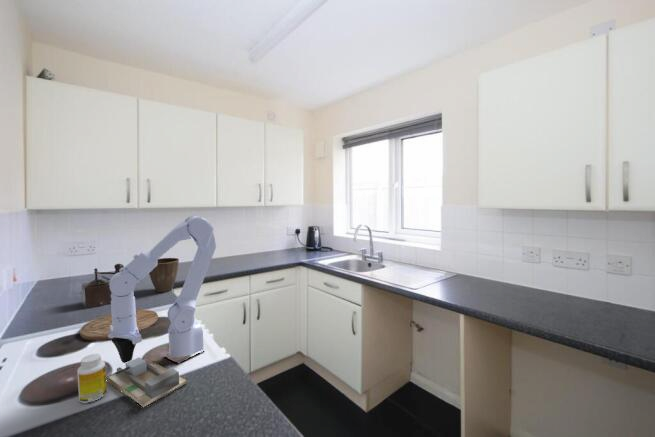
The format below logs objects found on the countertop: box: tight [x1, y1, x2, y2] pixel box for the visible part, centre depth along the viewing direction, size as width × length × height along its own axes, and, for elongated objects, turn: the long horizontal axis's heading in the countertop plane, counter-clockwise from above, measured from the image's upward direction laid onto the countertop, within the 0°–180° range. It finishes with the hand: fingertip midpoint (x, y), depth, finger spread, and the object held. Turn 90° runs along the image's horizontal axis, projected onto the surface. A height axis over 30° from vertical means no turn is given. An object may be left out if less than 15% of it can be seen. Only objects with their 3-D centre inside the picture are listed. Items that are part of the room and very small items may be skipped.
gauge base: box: [106, 363, 187, 408], centre depth 83 cm, size 11×20×4 cm, turn 56°
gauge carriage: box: [114, 356, 147, 377], centre depth 84 cm, size 7×4×3 cm, turn 146°
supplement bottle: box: [76, 353, 108, 404], centre depth 77 cm, size 6×6×10 cm
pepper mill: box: [81, 263, 125, 309], centre depth 145 cm, size 16×11×18 cm
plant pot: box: [148, 257, 180, 293], centre depth 163 cm, size 15×15×16 cm
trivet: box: [79, 309, 159, 342], centre depth 120 cm, size 25×25×2 cm
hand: (126, 361), depth 89 cm, fingers closed
